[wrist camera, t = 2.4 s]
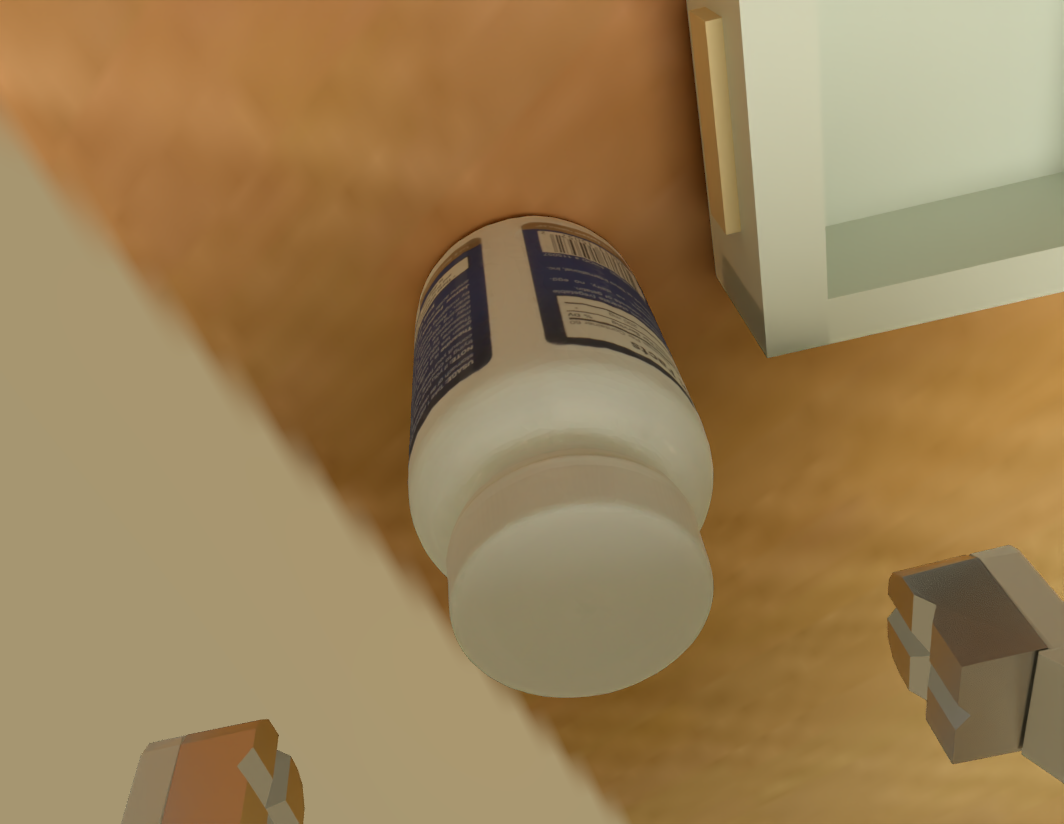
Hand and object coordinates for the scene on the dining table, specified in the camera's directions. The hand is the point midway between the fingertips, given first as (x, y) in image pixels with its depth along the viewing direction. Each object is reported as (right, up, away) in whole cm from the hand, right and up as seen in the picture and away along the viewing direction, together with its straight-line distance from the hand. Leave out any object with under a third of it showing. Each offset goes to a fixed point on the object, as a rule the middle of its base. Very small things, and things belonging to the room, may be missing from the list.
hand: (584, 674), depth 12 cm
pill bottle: (-1, +6, +10) cm, 12 cm away
